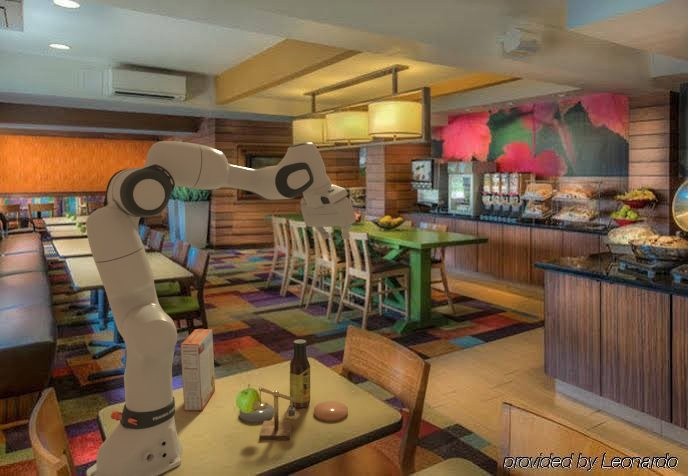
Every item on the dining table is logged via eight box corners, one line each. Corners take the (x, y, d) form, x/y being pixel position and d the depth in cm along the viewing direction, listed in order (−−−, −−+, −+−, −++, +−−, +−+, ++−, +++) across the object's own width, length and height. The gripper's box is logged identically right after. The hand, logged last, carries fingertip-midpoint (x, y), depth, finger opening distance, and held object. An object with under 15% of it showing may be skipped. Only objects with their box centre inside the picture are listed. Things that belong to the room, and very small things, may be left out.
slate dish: (259, 426, 147) (259, 422, 147) (232, 417, 152) (232, 413, 152) (281, 411, 156) (281, 407, 156) (254, 403, 161) (254, 400, 160)
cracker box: (197, 390, 170) (194, 328, 167) (215, 391, 169) (213, 328, 166) (182, 411, 156) (179, 343, 153) (202, 411, 156) (199, 343, 153)
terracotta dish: (336, 424, 148) (336, 420, 148) (307, 415, 153) (307, 411, 153) (353, 410, 157) (353, 406, 157) (325, 402, 162) (325, 398, 162)
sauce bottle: (307, 410, 157) (306, 346, 154) (287, 408, 158) (286, 344, 155) (312, 400, 163) (312, 338, 160) (293, 398, 164) (292, 337, 162)
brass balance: (251, 439, 140) (250, 394, 138) (256, 424, 148) (255, 381, 146) (298, 439, 140) (297, 394, 138) (300, 424, 148) (300, 381, 146)
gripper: (291, 202, 158) (307, 242, 162) (334, 198, 143) (351, 243, 147) (306, 193, 162) (322, 233, 166) (350, 188, 146) (366, 233, 150)
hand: (336, 238), depth 156 cm, fingers open, 8 cm apart
